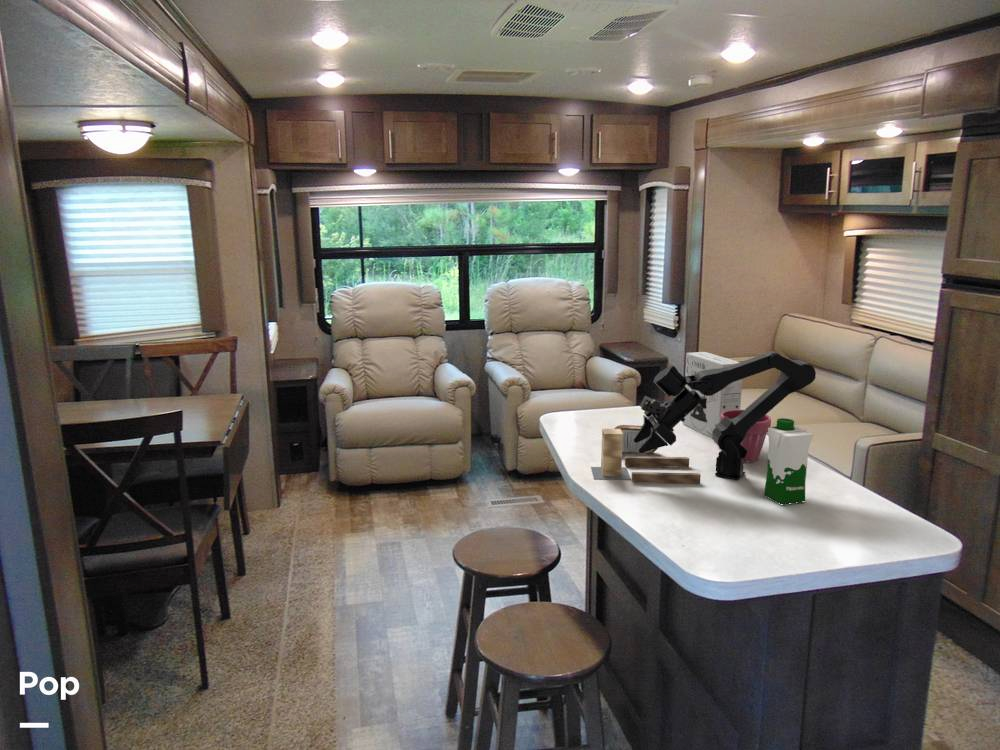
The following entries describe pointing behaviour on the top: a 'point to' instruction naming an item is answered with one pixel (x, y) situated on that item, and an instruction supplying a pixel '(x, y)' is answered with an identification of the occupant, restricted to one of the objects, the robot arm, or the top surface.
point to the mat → (598, 475)
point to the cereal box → (715, 403)
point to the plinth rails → (661, 477)
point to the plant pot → (752, 435)
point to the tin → (632, 439)
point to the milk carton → (787, 462)
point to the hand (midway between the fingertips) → (637, 446)
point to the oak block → (611, 452)
